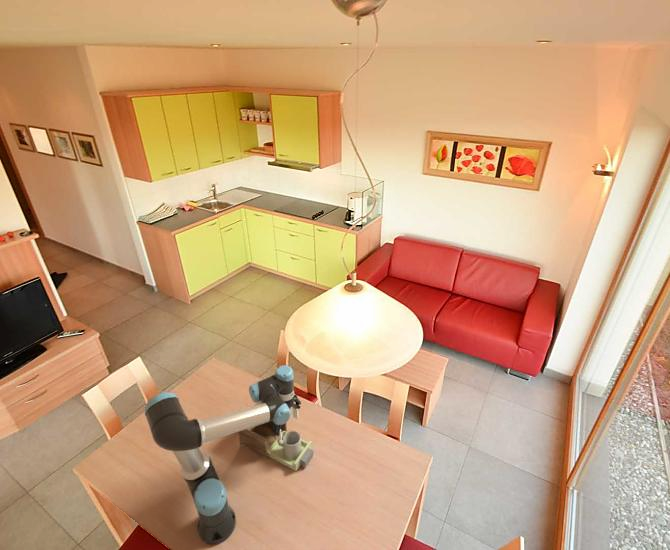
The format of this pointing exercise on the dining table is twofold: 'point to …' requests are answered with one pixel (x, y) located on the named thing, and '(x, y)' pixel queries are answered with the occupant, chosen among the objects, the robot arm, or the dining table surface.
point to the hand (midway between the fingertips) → (287, 427)
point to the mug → (291, 445)
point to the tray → (303, 459)
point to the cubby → (259, 437)
